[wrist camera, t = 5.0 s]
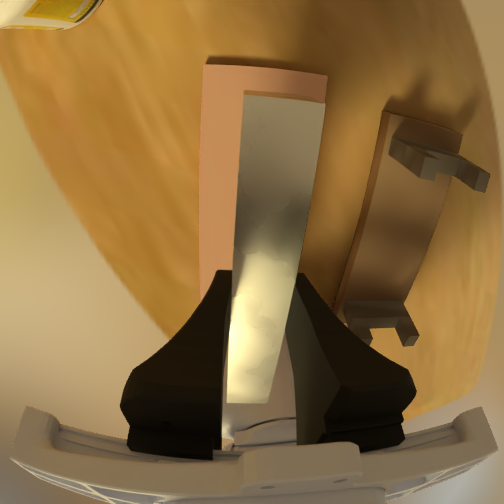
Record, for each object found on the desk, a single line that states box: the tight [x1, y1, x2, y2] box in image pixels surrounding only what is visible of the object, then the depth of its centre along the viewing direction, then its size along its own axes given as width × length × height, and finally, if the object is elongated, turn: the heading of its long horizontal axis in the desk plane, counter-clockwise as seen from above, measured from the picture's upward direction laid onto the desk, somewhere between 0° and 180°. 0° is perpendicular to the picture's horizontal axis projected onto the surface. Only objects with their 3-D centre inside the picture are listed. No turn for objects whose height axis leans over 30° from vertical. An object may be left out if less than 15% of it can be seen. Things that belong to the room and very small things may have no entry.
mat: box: [199, 64, 328, 301], centre depth 20 cm, size 7×18×1 cm, turn 175°
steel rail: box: [227, 90, 326, 404], centre depth 14 cm, size 16×2×2 cm, turn 176°
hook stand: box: [332, 110, 490, 347], centre depth 20 cm, size 17×6×5 cm, turn 176°
